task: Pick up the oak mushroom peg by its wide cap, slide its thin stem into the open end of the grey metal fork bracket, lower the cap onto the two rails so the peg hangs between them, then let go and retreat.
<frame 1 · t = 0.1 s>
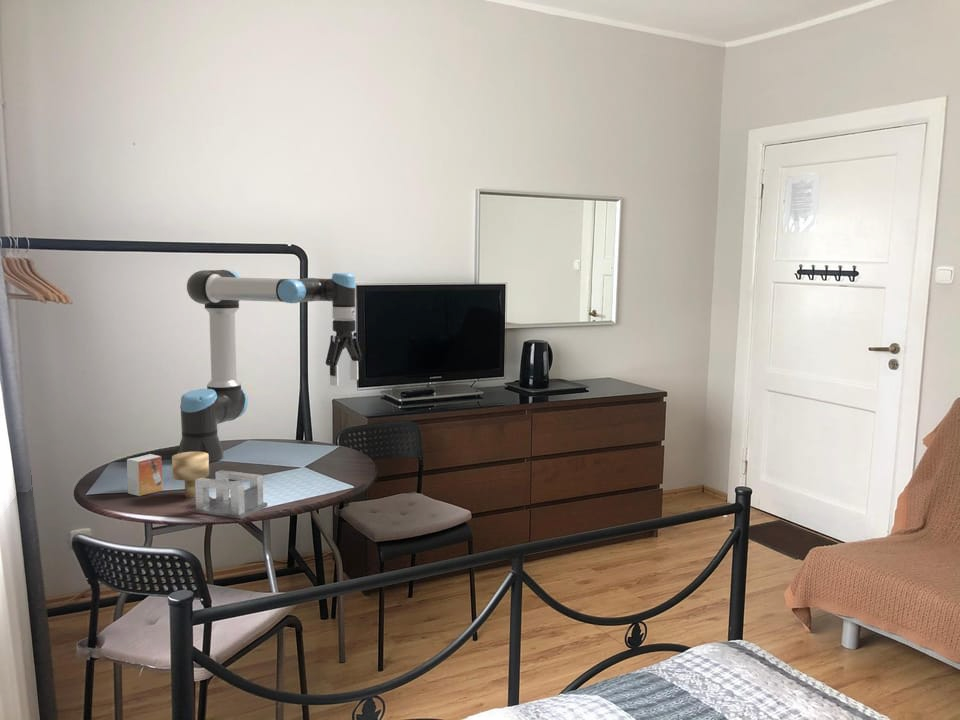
hand: (344, 382, 264), 28 cm above the table, fingers open, 13 cm apart
fork bracket: (230, 509, 218), on the table
small box: (145, 492, 233), on the table
mushroom peg: (191, 495, 230), on the table
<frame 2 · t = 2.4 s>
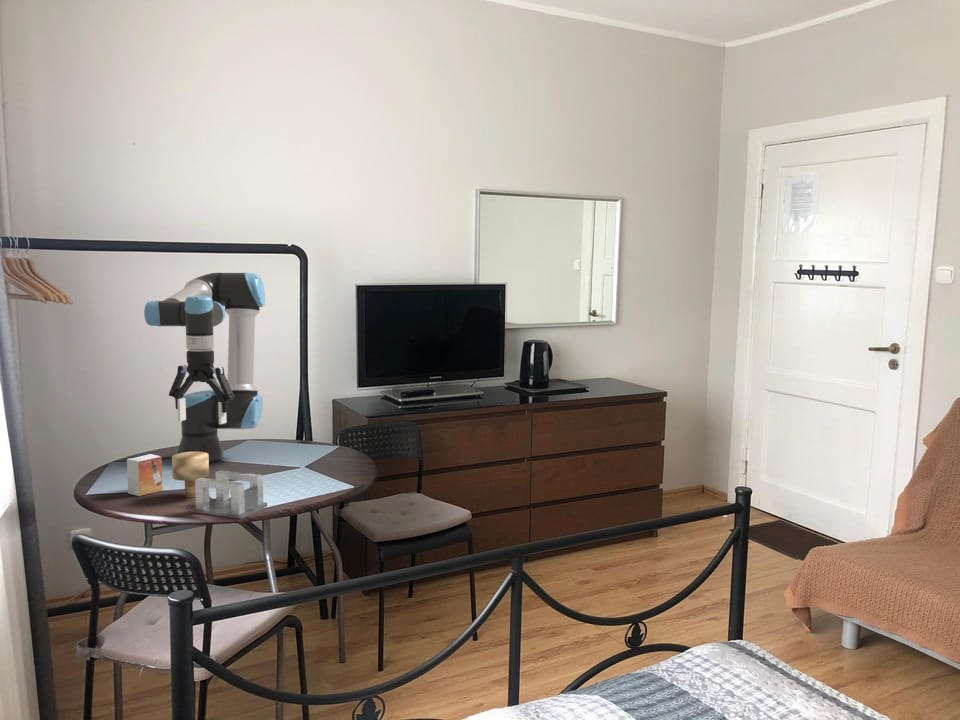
hand: (202, 422, 229), 21 cm above the table, fingers open, 13 cm apart
nothing on the table moved.
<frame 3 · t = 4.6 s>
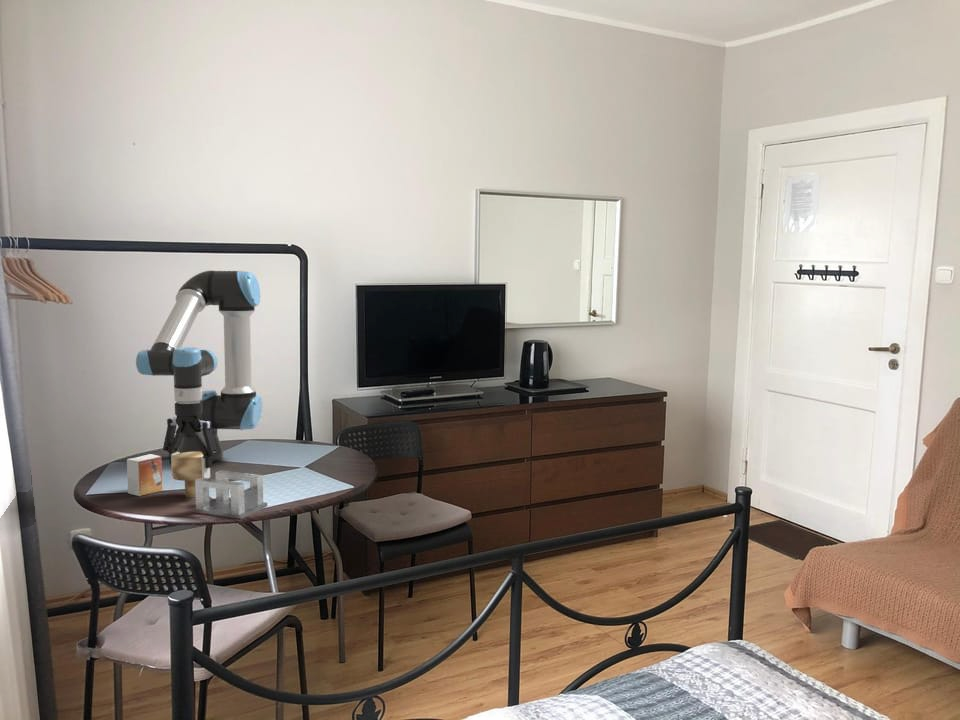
hand: (191, 476, 229), 6 cm above the table, fingers closed on mushroom peg, 10 cm apart
mushroom peg: (191, 495, 229), on the table, touching gripper
everything else where it was.
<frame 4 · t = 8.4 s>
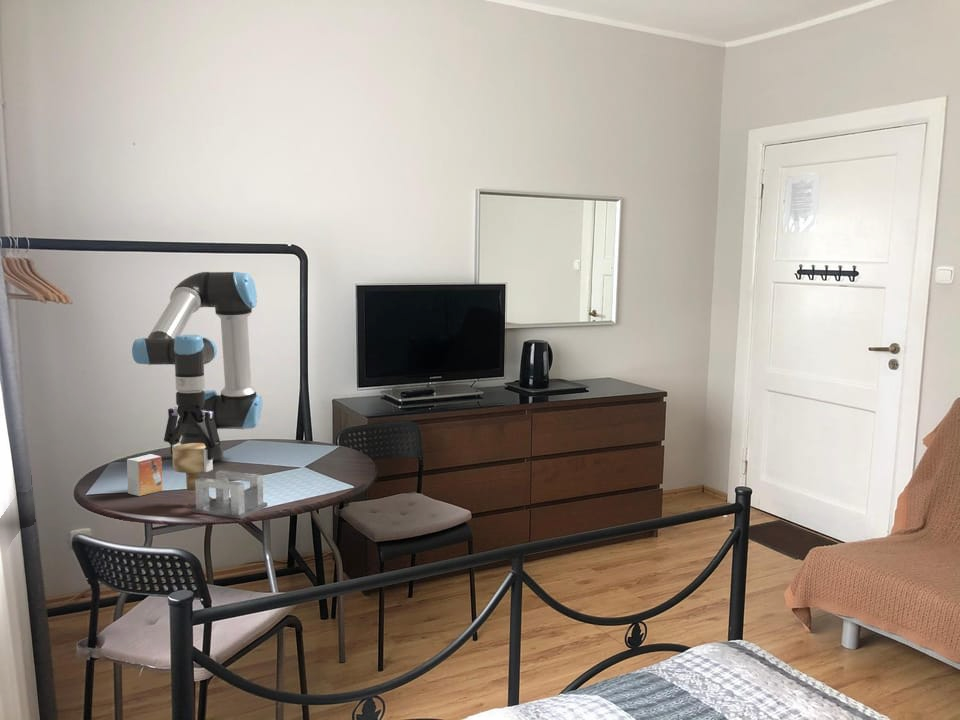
hand: (192, 468, 221), 10 cm above the table, fingers closed on mushroom peg, 10 cm apart
mushroom peg: (193, 488, 221), point 4 cm above the table, touching gripper
everything else where it was.
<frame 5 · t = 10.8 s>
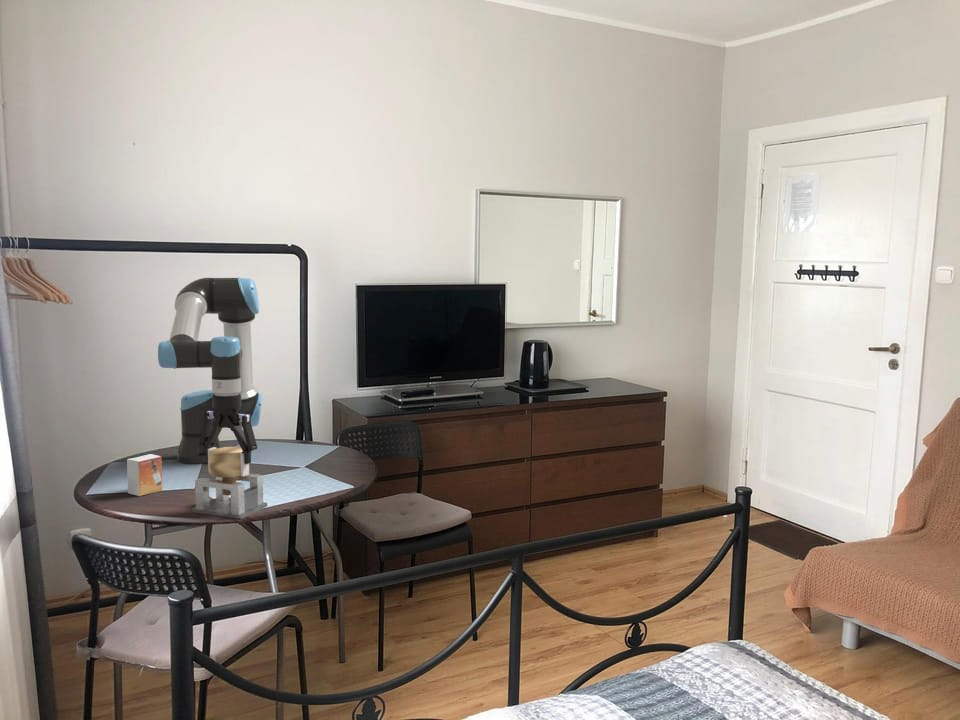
hand: (228, 473, 217), 10 cm above the table, fingers closed on mushroom peg, 10 cm apart
mushroom peg: (229, 493, 217), point 5 cm above the table, touching gripper
everything else where it was.
when the fingers open (9 cm above the table, at t = 12.5 s): mushroom peg stays where it is, resting on fork bracket.
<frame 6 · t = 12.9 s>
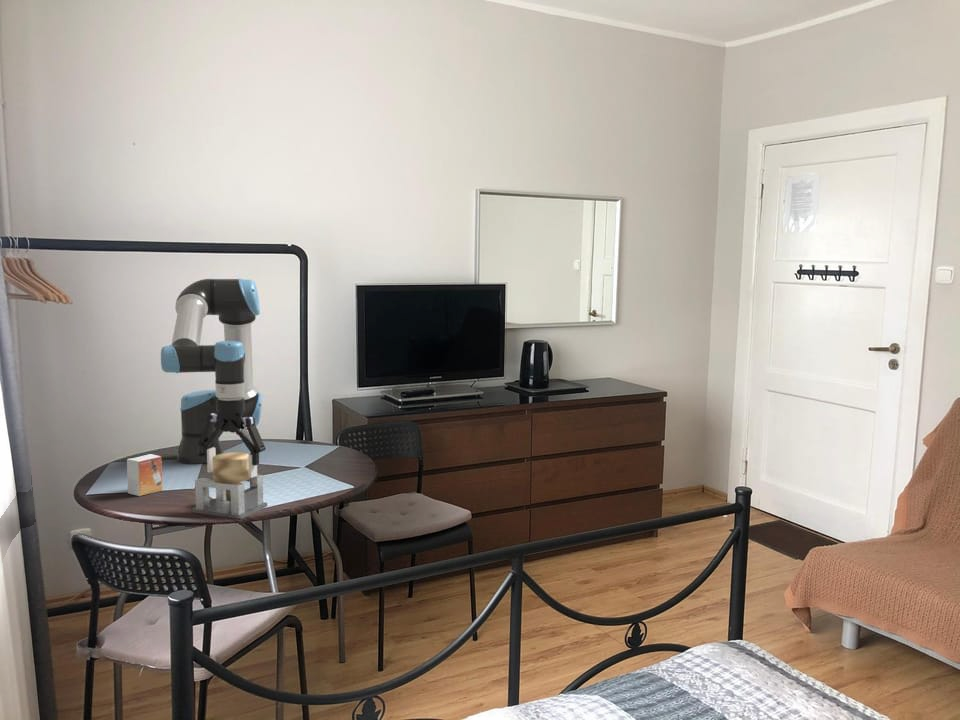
hand: (232, 474, 216), 10 cm above the table, fingers open, 13 cm apart
mushroom peg: (232, 499, 217), point 3 cm above the table, touching fork bracket
everything else where it was.
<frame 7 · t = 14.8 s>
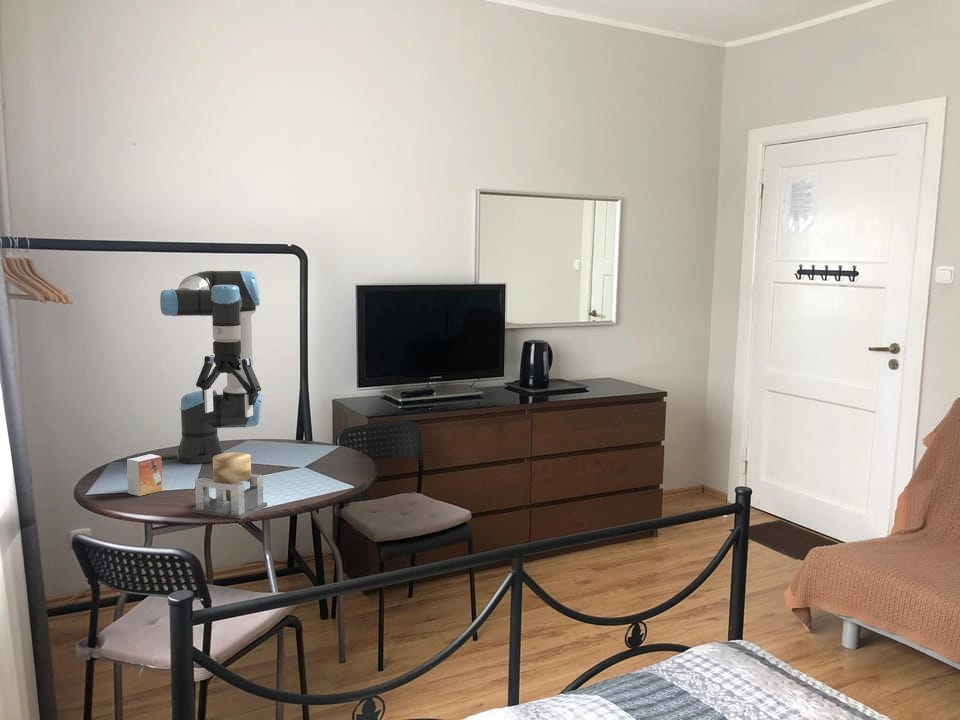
hand: (229, 414, 224), 25 cm above the table, fingers open, 13 cm apart
nothing on the table moved.
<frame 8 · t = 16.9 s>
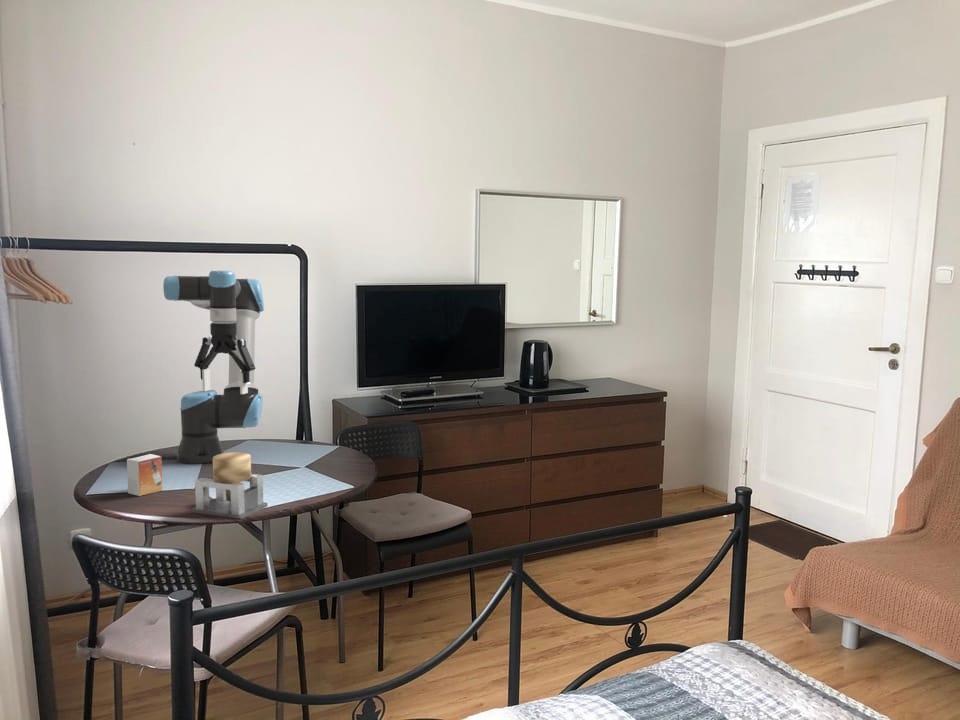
hand: (225, 392, 238), 29 cm above the table, fingers open, 13 cm apart
nothing on the table moved.
at the end: mushroom peg 0.0 cm from the target spot on the fork bracket, point 3.0 cm above the fork bracket's base; mushroom peg tilted 0°; the gripper is holding nothing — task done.
